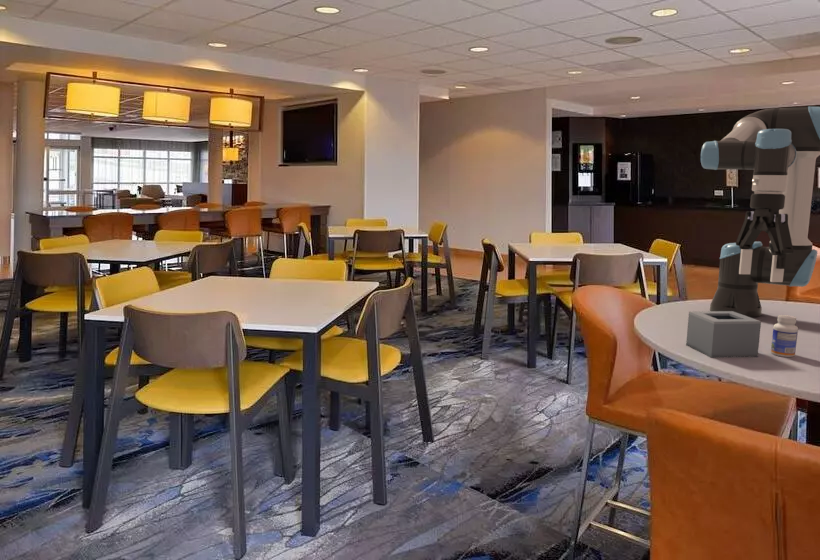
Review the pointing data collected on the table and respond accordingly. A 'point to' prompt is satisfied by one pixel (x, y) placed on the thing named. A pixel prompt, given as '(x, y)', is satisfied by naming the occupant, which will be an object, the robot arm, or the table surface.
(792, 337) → the pill bottle
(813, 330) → the table surface
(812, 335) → the table surface
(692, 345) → the drop box
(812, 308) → the table surface
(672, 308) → the table surface
